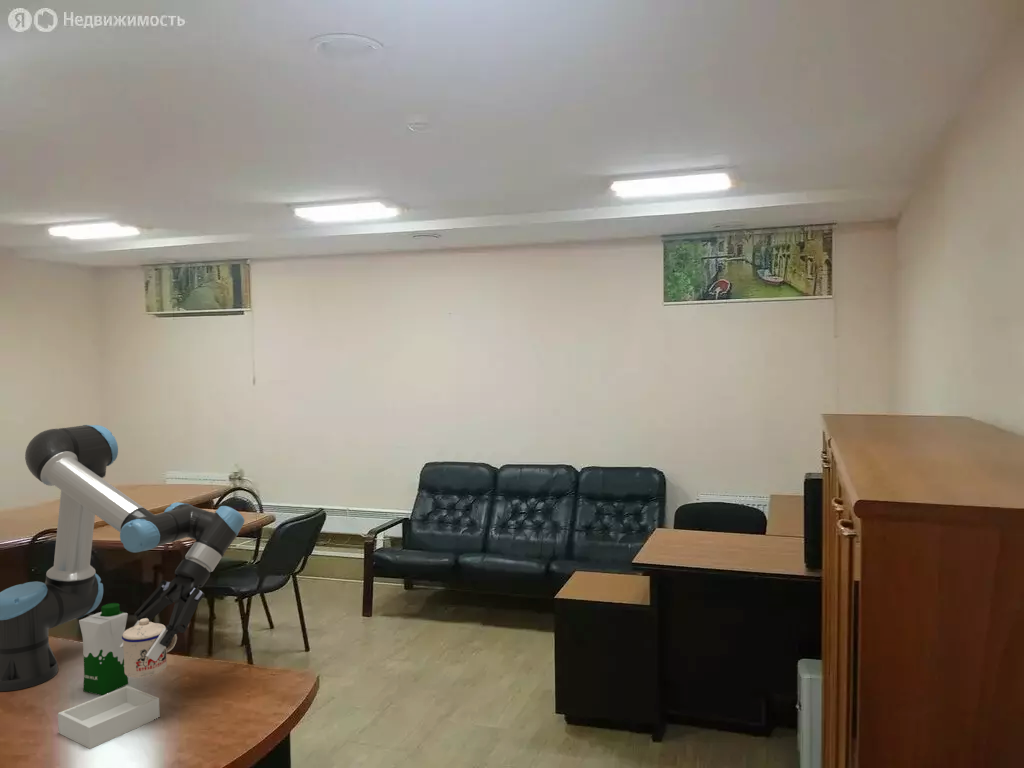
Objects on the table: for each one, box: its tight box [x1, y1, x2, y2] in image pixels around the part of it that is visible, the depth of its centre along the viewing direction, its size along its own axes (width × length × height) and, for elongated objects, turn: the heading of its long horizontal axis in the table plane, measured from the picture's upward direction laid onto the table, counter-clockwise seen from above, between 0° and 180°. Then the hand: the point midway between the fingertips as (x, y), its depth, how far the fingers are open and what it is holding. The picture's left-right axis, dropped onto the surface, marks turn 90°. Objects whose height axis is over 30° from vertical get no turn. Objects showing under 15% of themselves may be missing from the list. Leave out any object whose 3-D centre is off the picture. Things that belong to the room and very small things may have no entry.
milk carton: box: [78, 602, 129, 696], centre depth 183 cm, size 9×9×20 cm
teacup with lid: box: [122, 617, 178, 678], centre depth 168 cm, size 12×9×12 cm
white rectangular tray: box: [57, 685, 161, 750], centre depth 164 cm, size 13×16×4 cm
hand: (137, 654), depth 166 cm, fingers closed on teacup with lid, 9 cm apart
